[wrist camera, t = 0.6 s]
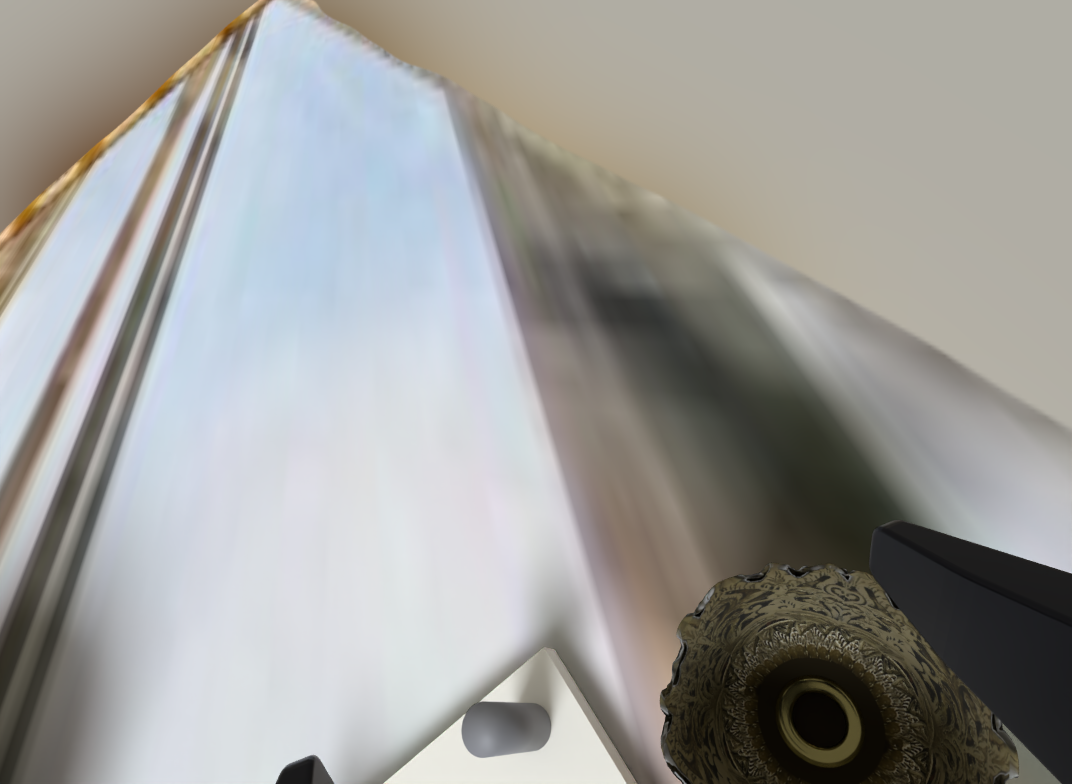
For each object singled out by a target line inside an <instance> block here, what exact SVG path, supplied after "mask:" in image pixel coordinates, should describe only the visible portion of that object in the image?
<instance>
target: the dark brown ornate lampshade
mask: <svg viewBox="0 0 1072 784" xmlns="http://www.w3.org/2000/svg"><path fill="white" fill-rule="evenodd" d="M677 637H678V638H679V639H680V642H681V648H680V651H679V654H678V656H677V658H676V660H675V661H674V662H673V665H672V680H671V682H670V683H669V684H668V685H667V688H666V689H664V690H662V692H661V695H660V707H661V710H662V712H663V713H664V714H665V715H666V717H665V722H664V726H663V731H662V735H661V748H662V752H663V755H664V758H665V761H666V763H667V765H668V767H669V768H670V769H671V771H672V772H673V774H674V775H675V776H676V777H677V778H678V779H679V780H680V781H681V782H682V784H1005V782H1006V781H1007V780H1008V779H1011V778H1013V777H1015V778H1017V777H1018V775H1019V762H1018V754H1017V750H1016V747H1015V745H1014V743H1013V741H1012V739H1011V738H1010V737H1009V735H1008V734H1007V733H1006V732H1005V731H1004V730H1003V728H1002V722H1001V721H1000V720H999V719H998V718H997V717H996V716H995V715H994V714H993V713H992V712H991V711H990V710H989V709H988V708H987V706H986V705H985V704H984V703H983V702H982V701H981V700H980V699H979V698H978V697H977V696H976V695H975V694H974V693H973V692H972V691H971V690H970V689H969V688H968V687H967V686H966V685H965V684H964V683H963V682H962V681H961V680H960V679H959V678H958V677H957V676H956V675H955V674H954V673H953V671H952V670H951V669H950V668H949V667H948V666H947V665H946V664H945V663H944V662H943V661H942V660H941V658H940V657H939V656H938V655H937V654H936V653H935V652H934V650H933V649H932V648H931V647H930V646H929V644H928V643H927V642H926V641H925V640H924V638H923V637H922V636H921V635H920V633H919V632H918V631H917V630H916V629H915V627H914V626H913V625H912V624H911V622H910V621H909V620H908V619H907V618H906V616H905V615H904V614H903V613H902V611H901V610H900V609H899V608H898V607H897V605H896V604H895V603H894V602H893V600H892V599H891V598H890V597H889V596H888V594H887V593H886V592H885V591H884V589H883V588H882V587H881V586H880V585H879V583H878V582H877V581H876V580H875V578H874V577H873V575H871V574H868V573H866V572H862V571H857V570H852V571H851V572H849V573H848V572H847V570H846V569H843V568H839V567H837V566H835V565H833V564H831V563H825V564H819V565H815V566H803V567H802V568H801V569H800V570H795V569H793V568H791V567H790V566H789V565H785V564H779V563H769V564H767V565H766V566H765V567H764V568H763V570H762V571H761V572H760V573H757V574H753V575H737V576H734V577H731V578H728V579H725V580H723V581H721V582H718V583H717V584H716V585H714V586H713V587H712V588H711V589H710V590H709V591H708V593H707V594H706V596H705V597H704V599H703V600H702V601H701V602H700V603H699V605H698V607H697V608H696V610H695V612H694V613H690V614H687V615H686V616H685V617H684V619H683V620H682V621H681V623H680V625H679V626H678V629H677ZM807 693H821V694H824V695H826V696H828V697H830V698H831V699H832V700H834V701H835V702H836V703H837V704H838V706H839V707H840V708H841V710H842V712H843V714H844V717H845V721H846V731H845V734H844V737H843V738H842V740H841V741H840V742H839V743H838V744H836V745H834V746H832V747H827V748H823V747H818V746H815V745H812V744H810V743H809V742H807V741H806V740H805V739H804V738H803V737H802V736H801V735H800V734H799V732H798V731H797V729H796V727H795V725H794V721H793V707H794V705H795V703H796V701H797V700H798V699H799V698H800V697H801V696H802V695H804V694H807Z"/></svg>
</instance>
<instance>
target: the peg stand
mask: <svg viewBox="0 0 1072 784" xmlns="http://www.w3.org/2000/svg"><path fill="white" fill-rule="evenodd" d="M383 784H637V782H636V780H635V779H634V777H633V776H632V774H631V772H630V771H629V769H628V768H627V766H626V764H625V763H624V761H623V759H622V758H621V756H620V755H619V753H618V751H617V750H616V748H615V746H614V745H613V743H612V742H611V740H610V738H609V737H608V735H607V733H606V732H605V730H604V729H603V727H602V725H601V724H600V722H599V720H598V719H597V717H596V716H595V714H594V712H593V711H592V709H591V708H590V706H589V704H588V703H587V701H586V699H585V698H584V696H583V695H582V693H581V691H580V690H579V688H578V686H577V685H576V683H575V682H574V680H573V678H572V677H571V675H570V673H569V672H568V670H567V669H566V667H565V665H564V664H563V662H562V660H561V659H560V657H559V656H558V654H557V652H556V651H555V649H550V648H546V647H543V648H542V649H541V650H540V651H538V652H537V653H536V654H535V655H534V656H533V657H531V658H530V659H529V660H528V661H527V662H526V663H524V664H523V665H522V666H521V667H520V668H518V669H517V670H516V671H515V672H514V673H513V674H511V675H510V676H509V677H508V678H507V679H506V680H504V681H503V682H502V683H501V684H500V685H498V686H497V687H496V688H495V689H494V690H493V691H491V692H490V693H489V694H488V695H487V696H486V697H484V698H483V699H482V700H481V701H480V702H478V703H476V704H474V705H473V706H472V707H471V708H470V709H469V710H468V711H467V713H466V714H464V715H463V716H462V717H461V718H460V719H459V720H457V721H456V722H455V723H454V724H453V725H451V726H450V727H449V728H448V729H447V730H446V731H444V732H443V733H442V734H441V735H440V736H439V737H437V738H436V739H435V740H434V741H433V742H431V743H430V744H429V745H428V746H427V747H426V748H424V749H423V750H422V751H421V752H420V753H419V754H417V755H416V756H415V757H414V758H413V759H412V760H410V761H409V762H408V763H407V764H406V765H404V766H403V767H402V768H401V769H400V770H399V771H397V772H396V773H395V774H394V775H393V776H392V777H390V778H389V779H388V780H387V781H386V782H384V783H383Z"/></svg>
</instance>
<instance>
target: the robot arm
mask: <svg viewBox="0 0 1072 784" xmlns="http://www.w3.org/2000/svg"><path fill="white" fill-rule="evenodd" d="M869 567H870V570H871V573H872V575H873V577H874V578H875V580H876V581H877V582H878V583H879V585H880V586H881V587H882V588H883V589H884V591H885V592H886V593H887V594H888V596H889V597H890V598H891V599H892V600H893V602H894V603H895V604H896V605H897V607H898V608H899V609H900V610H901V611H902V613H903V614H904V615H905V616H906V618H907V619H908V620H909V621H910V622H911V624H912V625H913V626H914V627H915V629H916V630H917V631H918V632H919V633H920V635H921V636H922V637H923V638H924V640H925V641H926V642H927V643H928V644H929V646H930V647H931V648H932V649H933V650H934V652H935V653H936V654H937V655H938V656H939V657H940V658H941V660H942V661H943V662H944V663H945V664H946V665H947V666H948V667H949V668H950V669H951V670H952V671H953V673H954V674H955V675H956V676H957V677H958V678H959V679H960V680H961V681H962V682H963V683H964V684H965V685H966V686H967V687H968V688H969V689H970V690H971V691H972V692H973V693H974V694H975V695H976V696H977V697H978V698H979V699H980V700H981V701H982V702H983V703H984V704H985V705H986V706H987V708H988V709H989V710H990V711H991V712H992V713H993V714H994V715H995V716H996V717H997V718H998V719H999V720H1000V721H1001V722H1002V723H1003V724H1004V725H1005V726H1006V727H1007V728H1008V729H1009V730H1010V731H1011V732H1012V733H1013V734H1014V735H1015V736H1016V737H1017V738H1018V739H1019V740H1020V741H1021V742H1022V743H1023V744H1024V746H1025V747H1026V748H1027V749H1028V750H1029V751H1030V752H1031V753H1032V754H1033V755H1034V756H1035V757H1036V758H1037V759H1038V760H1039V761H1040V762H1041V763H1042V764H1043V765H1044V766H1045V767H1046V768H1047V769H1048V770H1049V771H1050V772H1051V773H1052V774H1053V775H1054V776H1055V777H1056V778H1057V779H1058V780H1059V781H1060V783H1061V784H1072V574H1071V573H1068V572H1065V571H1062V570H1058V569H1055V568H1052V567H1049V566H1046V565H1042V564H1039V563H1036V562H1033V561H1030V560H1027V559H1023V558H1020V557H1017V556H1014V555H1011V554H1007V553H1004V552H1001V551H998V550H995V549H992V548H988V547H985V546H982V545H979V544H976V543H972V542H969V541H966V540H963V539H960V538H957V537H953V536H950V535H947V534H944V533H941V532H937V531H934V530H931V529H928V528H925V527H922V526H918V525H915V524H912V523H909V522H906V521H902V520H894V521H891V522H888V523H886V524H883V525H881V526H878V527H877V528H875V530H874V531H873V534H872V541H871V550H870V558H869ZM276 784H334V782H333V781H332V779H331V777H330V776H329V774H328V772H327V770H326V769H325V767H324V765H323V764H322V762H321V760H320V759H319V758H318V757H317V756H315V755H310V756H308V757H305V758H303V759H300V760H298V761H295V762H293V763H290V764H289V765H287V766H286V767H285V768H284V769H283V770H282V772H281V773H280V775H279V777H278V780H277V782H276Z"/></svg>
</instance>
